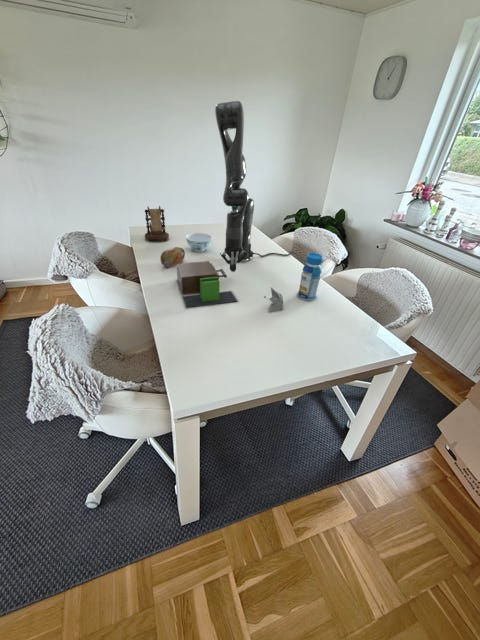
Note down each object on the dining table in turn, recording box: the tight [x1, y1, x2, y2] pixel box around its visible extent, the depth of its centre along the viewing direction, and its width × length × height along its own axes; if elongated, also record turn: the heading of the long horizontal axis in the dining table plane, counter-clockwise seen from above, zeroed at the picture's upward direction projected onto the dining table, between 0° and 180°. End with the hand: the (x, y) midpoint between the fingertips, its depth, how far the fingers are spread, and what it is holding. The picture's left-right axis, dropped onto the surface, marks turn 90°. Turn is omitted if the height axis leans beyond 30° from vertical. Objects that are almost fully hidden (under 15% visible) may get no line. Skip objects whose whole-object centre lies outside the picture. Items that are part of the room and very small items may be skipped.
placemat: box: [182, 290, 238, 309], centre depth 132 cm, size 22×9×1 cm, turn 109°
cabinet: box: [175, 260, 217, 296], centre depth 139 cm, size 16×15×9 cm
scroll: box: [144, 205, 170, 243], centre depth 185 cm, size 15×15×20 cm
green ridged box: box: [199, 277, 221, 302], centre depth 129 cm, size 8×4×10 cm, turn 109°
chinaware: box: [185, 232, 213, 253], centre depth 177 cm, size 15×15×8 cm
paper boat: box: [263, 287, 284, 313], centre depth 129 cm, size 12×6×9 cm
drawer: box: [210, 262, 227, 279], centre depth 140 cm, size 19×13×7 cm
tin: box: [159, 246, 186, 268], centre depth 158 cm, size 15×3×8 cm, turn 143°
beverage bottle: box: [297, 252, 324, 301], centre depth 133 cm, size 8×8×20 cm
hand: (232, 271), depth 145 cm, fingers closed
